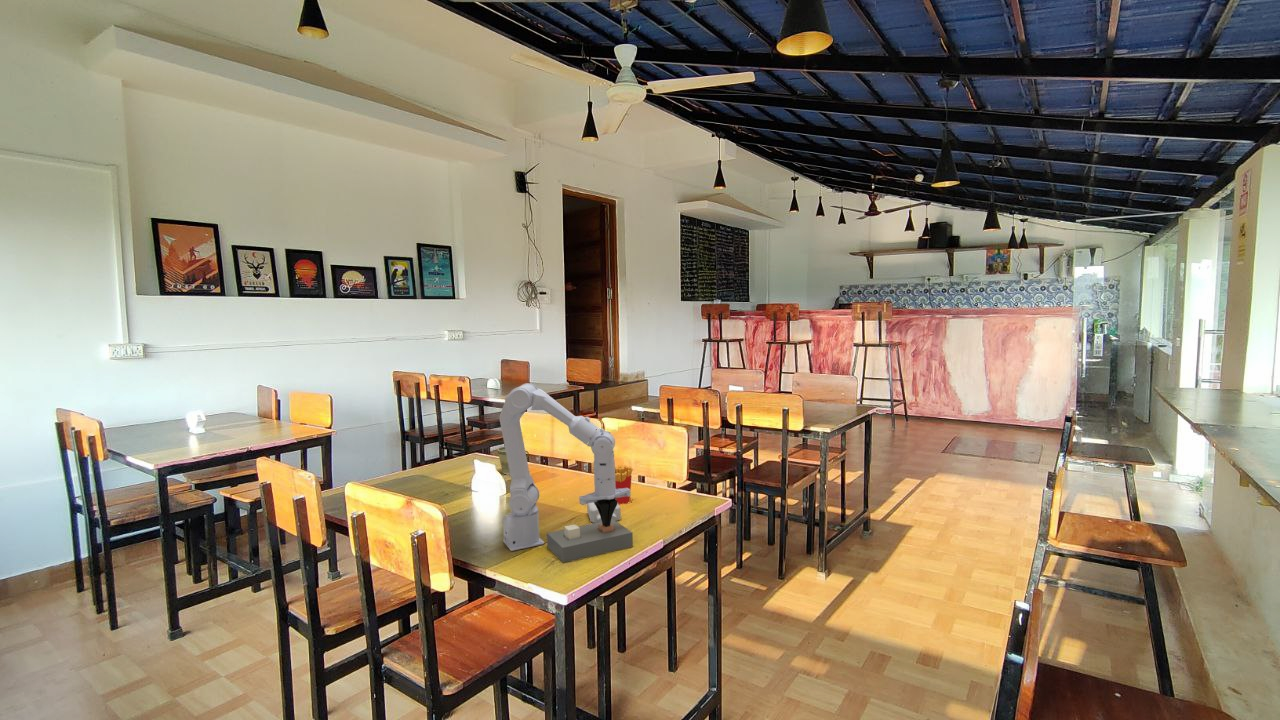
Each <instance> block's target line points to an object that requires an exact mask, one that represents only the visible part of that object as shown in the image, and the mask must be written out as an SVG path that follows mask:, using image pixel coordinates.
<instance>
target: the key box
mask: <svg viewBox="0 0 1280 720" xmlns="http://www.w3.org/2000/svg"><path fill="white" fill-rule="evenodd" d="M599 524H602V522H598V523H589V524H584V525H579V526H578V525H577V526H578V527H579V528H580V538H576V539H571V540H568V539H566V538H565V537H564V528H563V529H560V530H553V531H550V532H546V544H547V546H546V547H547V549H549V551H550V552H552V553H553V554H554V556H556V558H557V559H559V560H560V562H562V563H563V564H564V563H569V562H574V561H577V560H581V559H582V560H583V559H586V558H590V557H595V556H598V555H604V554H607V553H612V552H616V551H621V550H625V549H630V548H633V547H634V544H633V543H634V540H633V538H634V537H633V531H631V530H629V528H626V527H625V526H624V525H623V524H620V523H619V522H618V521H615V520H614V519H612V520H611V523H610V524H612V525H613V526H614V530H613V531H608V532H604V533H603V532H601V531H600V530H599V527H598V525H599ZM629 547H630V548H629Z"/></svg>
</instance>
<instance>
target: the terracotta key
mask: <svg viewBox="0 0 1280 720" xmlns="http://www.w3.org/2000/svg"><path fill="white" fill-rule="evenodd" d="M598 527H599V530H600V531H601V532H603V533H604V532H608V531H613V530H614V526H613V525H612V524H610V526H608V527H605V526H603V525H602V524H599V525H598Z"/></svg>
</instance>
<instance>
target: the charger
mask: <svg viewBox="0 0 1280 720" xmlns="http://www.w3.org/2000/svg"><path fill="white" fill-rule="evenodd" d="M586 511H587V515H588V517H589V520H590V523H591V524H593V523H598V522H602V520H601V517H600V514H599V511H598V509H597V507H596V505H595V504H594V502H593V503H587V504H586ZM621 514H622V513H621V506H620V504H618V502H617V506H616V508H615V510H614V512H613V515H612V519H614V520H615V521H616V522H618V521H620V520H621ZM612 519H611V520H612Z"/></svg>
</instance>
